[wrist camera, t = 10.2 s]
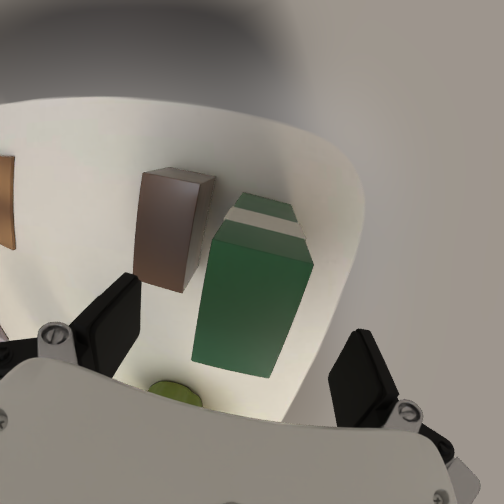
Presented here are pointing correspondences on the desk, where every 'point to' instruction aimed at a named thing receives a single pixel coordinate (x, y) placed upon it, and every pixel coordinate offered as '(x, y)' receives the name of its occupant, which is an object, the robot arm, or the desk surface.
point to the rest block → (171, 226)
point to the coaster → (6, 202)
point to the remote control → (2, 336)
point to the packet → (251, 287)
